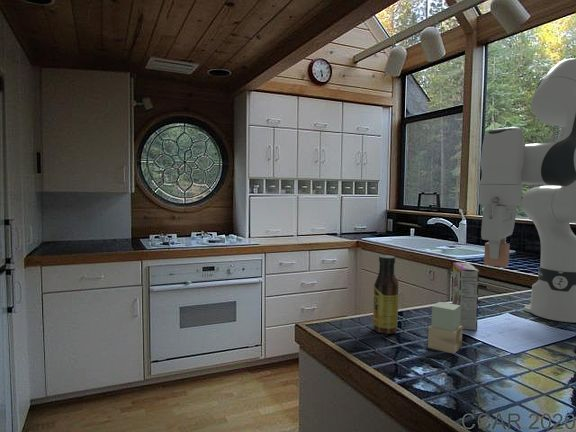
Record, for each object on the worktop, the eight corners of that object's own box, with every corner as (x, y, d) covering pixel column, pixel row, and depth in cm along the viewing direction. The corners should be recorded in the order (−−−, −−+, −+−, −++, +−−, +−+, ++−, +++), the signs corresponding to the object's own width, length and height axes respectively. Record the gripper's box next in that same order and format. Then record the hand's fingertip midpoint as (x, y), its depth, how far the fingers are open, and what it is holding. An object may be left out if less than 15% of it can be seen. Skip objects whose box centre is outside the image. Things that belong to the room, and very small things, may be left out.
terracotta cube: (487, 262, 103) (488, 241, 102) (508, 264, 100) (509, 243, 100) (483, 264, 99) (485, 243, 99) (505, 267, 96) (506, 245, 96)
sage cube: (438, 321, 104) (439, 301, 104) (459, 326, 101) (460, 305, 101) (431, 327, 100) (432, 306, 100) (453, 331, 97) (454, 310, 97)
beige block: (436, 341, 105) (437, 321, 105) (461, 346, 102) (462, 326, 101) (428, 348, 100) (428, 327, 100) (454, 354, 97) (455, 332, 96)
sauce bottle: (374, 325, 116) (376, 253, 115) (398, 328, 114) (400, 254, 113) (371, 333, 110) (373, 257, 109) (396, 336, 108) (398, 258, 107)
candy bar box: (450, 317, 124) (452, 261, 123) (468, 318, 123) (470, 262, 122) (457, 329, 114) (460, 268, 112) (477, 331, 113) (480, 269, 112)
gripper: (507, 197, 88) (504, 264, 89) (521, 197, 105) (518, 253, 106) (475, 197, 92) (472, 260, 93) (493, 197, 108) (490, 251, 109)
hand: (496, 256), depth 99 cm, fingers closed on terracotta cube, 4 cm apart
